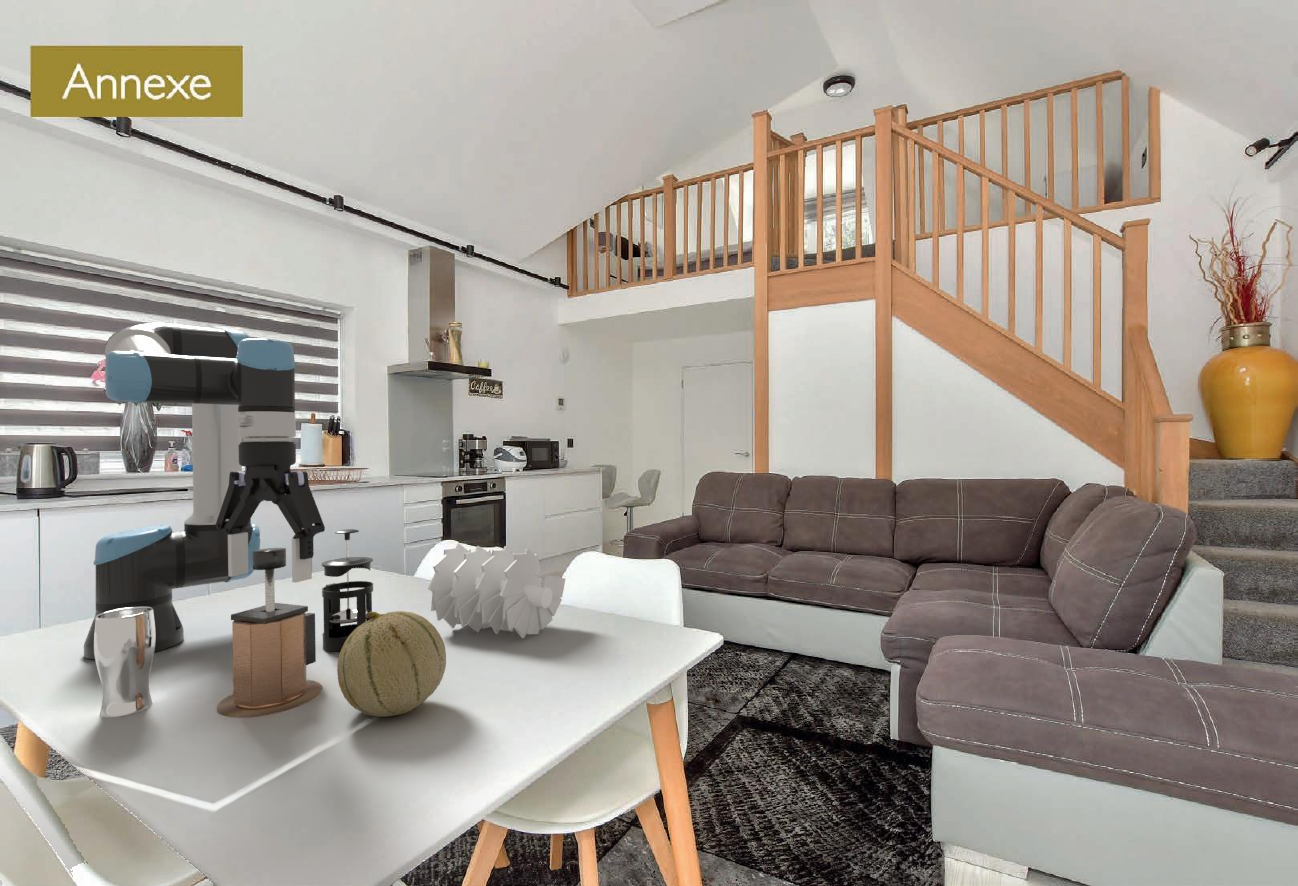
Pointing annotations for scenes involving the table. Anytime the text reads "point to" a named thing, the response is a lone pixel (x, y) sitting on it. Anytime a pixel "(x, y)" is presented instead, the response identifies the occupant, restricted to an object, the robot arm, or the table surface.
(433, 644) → the cantaloupe
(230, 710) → the coaster
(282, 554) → the plunger
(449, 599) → the spiral staircase
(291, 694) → the carafe
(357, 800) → the table surface
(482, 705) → the table surface
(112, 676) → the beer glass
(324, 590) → the french press
